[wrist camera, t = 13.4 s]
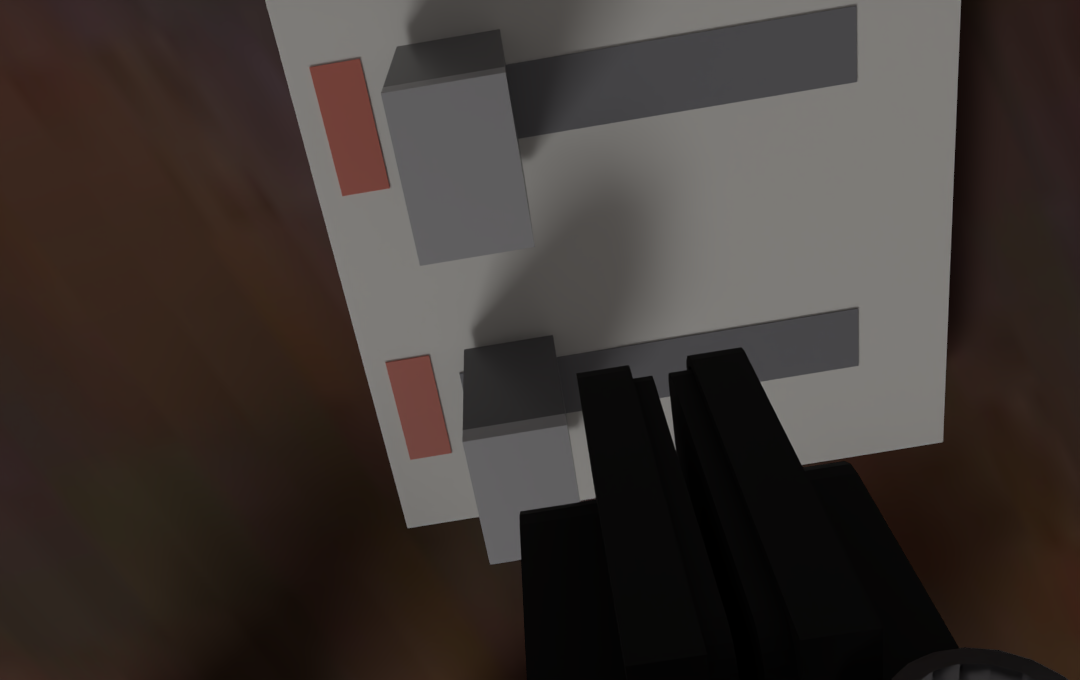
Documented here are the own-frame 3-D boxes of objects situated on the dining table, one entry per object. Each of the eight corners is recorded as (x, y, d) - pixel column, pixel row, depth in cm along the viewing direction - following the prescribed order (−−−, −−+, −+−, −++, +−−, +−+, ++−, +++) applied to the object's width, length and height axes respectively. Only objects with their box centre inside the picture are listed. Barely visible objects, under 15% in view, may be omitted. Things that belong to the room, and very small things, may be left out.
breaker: (552, 334, 27) (566, 425, 23) (571, 446, 28) (587, 548, 24) (463, 349, 27) (462, 442, 23) (487, 460, 28) (489, 564, 24)
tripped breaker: (499, 29, 23) (505, 72, 19) (524, 178, 25) (534, 247, 21) (396, 46, 23) (380, 93, 19) (428, 194, 25) (420, 265, 21)
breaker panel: (931, -590, 21) (988, -640, 18) (909, 398, 32) (943, 442, 29) (170, -453, 21) (133, -486, 19) (412, 479, 32) (407, 529, 30)
